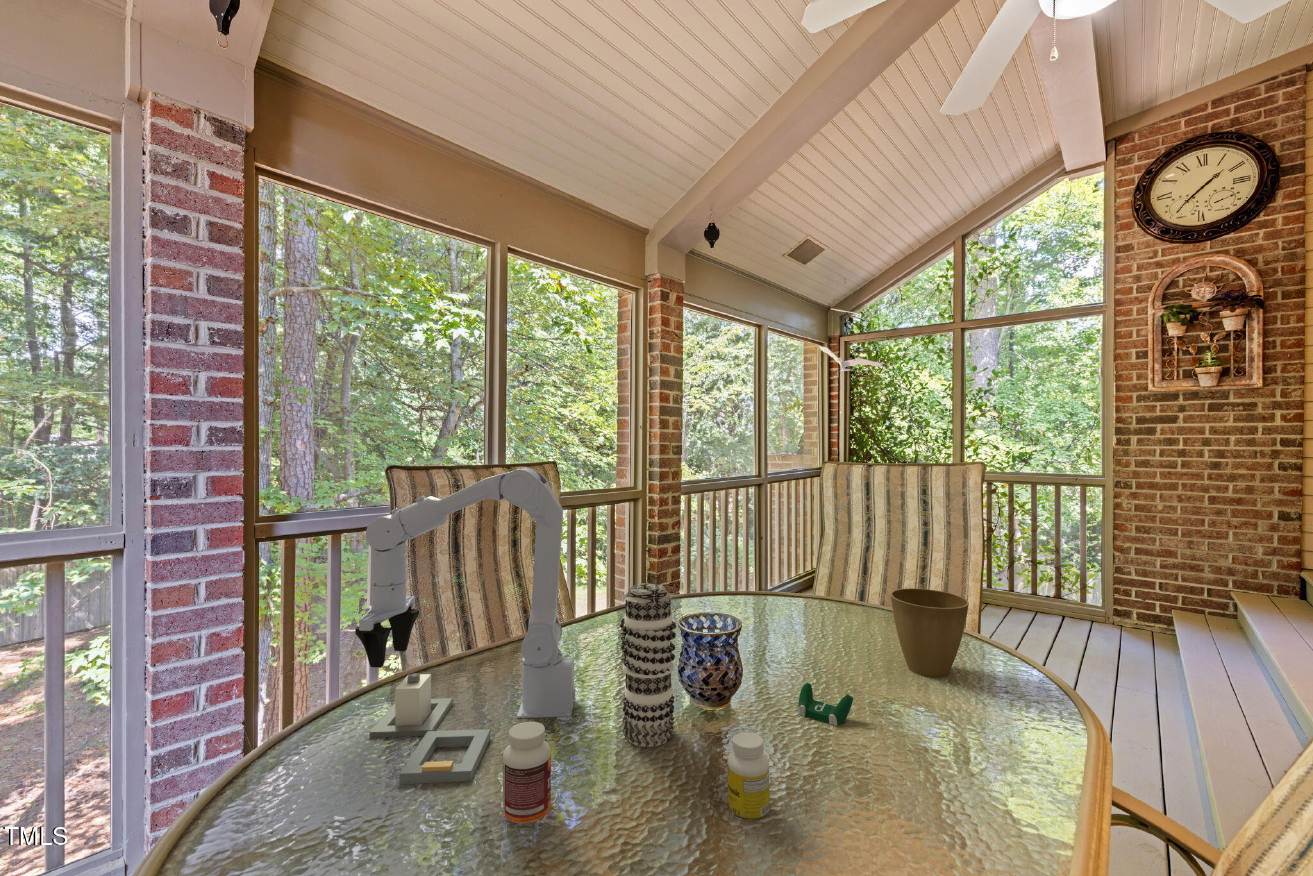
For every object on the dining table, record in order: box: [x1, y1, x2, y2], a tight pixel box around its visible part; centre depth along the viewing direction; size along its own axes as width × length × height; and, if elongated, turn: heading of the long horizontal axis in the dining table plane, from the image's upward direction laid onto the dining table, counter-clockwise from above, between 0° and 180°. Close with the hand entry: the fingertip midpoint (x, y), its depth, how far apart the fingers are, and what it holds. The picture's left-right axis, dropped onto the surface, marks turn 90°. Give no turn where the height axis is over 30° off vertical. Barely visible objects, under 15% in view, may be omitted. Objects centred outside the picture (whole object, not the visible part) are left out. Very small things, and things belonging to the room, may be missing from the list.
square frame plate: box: [369, 697, 454, 739], centre depth 102 cm, size 10×12×1 cm
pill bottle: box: [502, 721, 552, 824], centre depth 76 cm, size 6×6×11 cm
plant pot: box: [890, 587, 970, 678], centre depth 122 cm, size 15×15×16 cm
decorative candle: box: [619, 582, 677, 748], centre depth 95 cm, size 9×9×25 cm
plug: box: [394, 673, 432, 726], centre depth 102 cm, size 4×6×8 cm, turn 4°
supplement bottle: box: [727, 731, 771, 821], centre depth 76 cm, size 5×5×10 cm
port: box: [398, 728, 491, 785], centre depth 88 cm, size 10×12×3 cm
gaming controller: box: [797, 682, 854, 727], centre depth 102 cm, size 9×4×6 cm
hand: (389, 658), depth 104 cm, fingers open, 7 cm apart
